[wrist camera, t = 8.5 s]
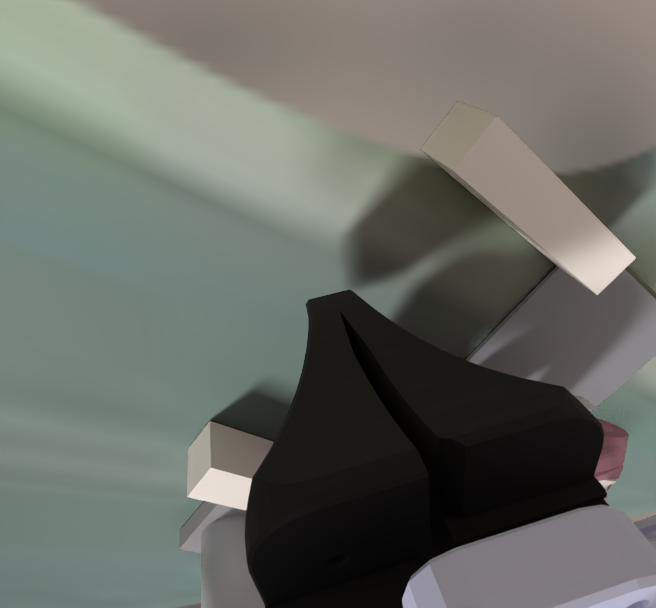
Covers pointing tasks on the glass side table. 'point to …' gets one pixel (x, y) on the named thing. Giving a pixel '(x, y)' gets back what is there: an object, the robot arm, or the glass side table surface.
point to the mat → (575, 336)
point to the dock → (505, 201)
